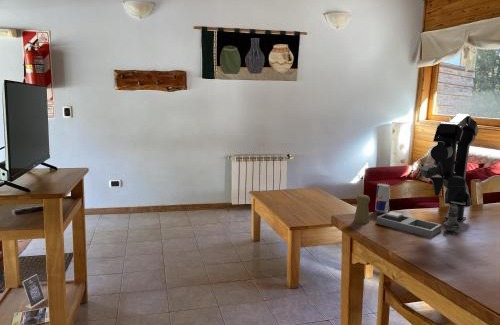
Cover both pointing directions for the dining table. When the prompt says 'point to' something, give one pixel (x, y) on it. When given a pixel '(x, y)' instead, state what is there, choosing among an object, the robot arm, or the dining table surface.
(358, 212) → the olive pepper mill
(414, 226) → the socket strip
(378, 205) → the energy drink
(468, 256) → the dining table surface
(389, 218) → the plugged module
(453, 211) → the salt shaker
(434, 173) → the robot arm
